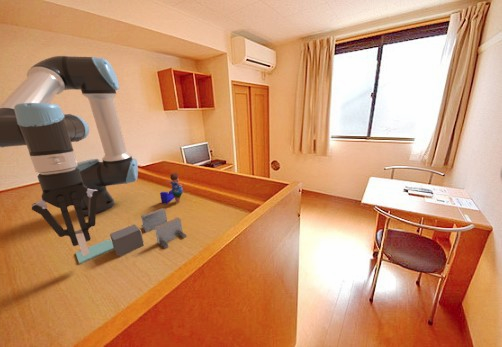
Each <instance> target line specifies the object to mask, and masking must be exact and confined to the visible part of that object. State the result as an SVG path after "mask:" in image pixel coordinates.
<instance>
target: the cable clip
mask: <svg viewBox="0 0 502 347" xmlns="http://www.w3.org/2000/svg"><path fill="white" fill-rule="evenodd" d="M172 189H173V186H172V185H171V190H169V191H160V193H159V195H160V200H161V204H162V203H166V204H169V203H170V202H172V200H174V199H175V198H174V195H173V193H172ZM166 204H165V205H166Z"/></svg>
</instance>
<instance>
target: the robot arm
mask: <svg viewBox="0 0 502 347" xmlns="http://www.w3.org/2000/svg"><path fill="white" fill-rule="evenodd" d="M119 89H120V84H119V80H118V77H117V75H116V72H115V70H114V68H113V66H112V64H111V63H110V62H109V61H108V60H107V58H103V57H95V56H68V55H58V56H57V55H56V56H51V57H48V58H45V59H43V60H40V61H39V62H36V63H35V64H34V65H32V66H31V67H30V68H29V69H28V70H27V73H26V78H25V80H23V82H22V83H21V84H20V85H18V87H17V88H16V89H14V91H13V92H12V93H11V94H10V95H9V96H8V97H7V98H6V99H5V100H4V101H2V103H1V104H0V148H8V147H19V146H20V147H21V146H22V147H23V146H26V147H27V150H28V154H29V157H30V160H31V162H32V166H33V168H34V171H35V172H36V173H37V174H38V173H39V174H38V175H37V176H36V177H37V178H38V181H39V185H40V188H41V190H42V193H41V199H40V200H38V201H37V202H35V203H32V204H31V211H33V212H35V213H37V214H39V215H40V216H42V218H43V219H44V220H45V221H46V222H47V224H48V225H49V226H50V227H51V228H52V230H53V231H54V232H55V233H56V235H57V236H58V237H59V238H60V237H61V238H62V237H65V236H66V237H69V239H70V243H71V244H72V246H73V247H76V246H78V247H79V251H80V250H81V253H82V256H85V255H87V254H90V253H89V250H88V247H89V246H88V245H87V244H88V243H87V242H89V241H91V240H92V239H91V235H90V232H89V230H90V228H92V227H95V226H96V217H97V216H96V214H100V213H102V212H105V211H107V210H109V209H112V208H113V207H114V206H115V204H116V201H115V199H114V198H113V197H112V195H111V194H110V192H109V191H108V189H107V187H111V186H116V185H125V184H126V185H127V184H130V183H131V184H132V183H135V182H137V180H138V177H139V176H138V175H139V173H138V172H139V164H138V160H137V158H134V157H133V156H132V154H131V153H130V152H127V147H126V143H125V140H124V135H123V132H122V127H121V124H120V120H119V116H118V111H117V107H116V104H115V103H116V102H115V99H114V98H115V97H116V96H117V90H119ZM68 90H75V91H76V90H80V91H81V95H83V96H84V97H86V98H87V99H88V101H89V104H90V109H91V112H92V115H93V118H94V122H95V126H96V130H97V133H98V135H99V139H100V143H101V145H102V149H103V153H104V155H103V157H102V161H100V160H99V159H98V158H91V159H87V160H83V161H79V162H78V160H77V158H76V156H75V152H74V148H73V144H72V143H73V142H74V143H76V142H77V143H78V142H80V141H83V140H84V139H86V138H87V137H88V136H89V133H90V126H89V125H88V123H87V121H86V120H84V119H83V118H82V117H81V116H78V115H74V114H71V113H69V114H65V113H63V111H62V108H61V107H60V105H58V104H56V103H51V102H52V101H53V99H55V97H56V96H57V95H59V94H62V93H63V92H64V91H68ZM46 203H48V204H49V205H52V206H53V207H56V208H59V209H60V212H61V215H62V218H63V221H64V224H65V227H66V229H65V228H63V227H62V225H61V224H60V223H59V222H58V220H56V218H55V217H54V216H53V214H52V213H51V212H50V211H49V210H48V205H47V204H46ZM71 206H72V207H73V208H74V211H75V215H76V217H77V221H78V223H79V226H80V229H78V230H75V228H74V225H73V221H72V218H71V215H70V212H69V209H68V207H71ZM85 216H88V218H87V221H86V218H85Z"/></svg>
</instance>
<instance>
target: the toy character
mask: <svg viewBox="0 0 502 347" xmlns="http://www.w3.org/2000/svg"><path fill="white" fill-rule="evenodd" d="M169 179H170V181H169V180H168V181H166V183H170V184H171V187H172V186H173V189H172V188H171V190H172V193H173V195H174V199H175V203H177V204H179V203H181V200H180V199H181V196H182V195H183V192H184V191H183V190H184V189H183V184H181V183H179V182H180V179H179V175H178V173H177V172H174V173H173V172H172V173H170V178H169Z"/></svg>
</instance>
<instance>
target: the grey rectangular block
mask: <svg viewBox="0 0 502 347" xmlns="http://www.w3.org/2000/svg"><path fill="white" fill-rule="evenodd" d="M109 236H110V240H111V242H112V243H113V247H114V250H113V251H114V252H115V253H116V255H117V256H118V258H120V257H122V256H124V255H127V254H128V253H131V252H133V251H135V250H137V249H139V248H142V247H143V246H144V241H145V240H144V237H143V233H142V230H141V229H140V228H139V227H138V226H137V225H136V224H131V225H129V226H127V227H124V228H121V229H119V230H116V231H113V232H111V233H109ZM144 247H145V246H144Z"/></svg>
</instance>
